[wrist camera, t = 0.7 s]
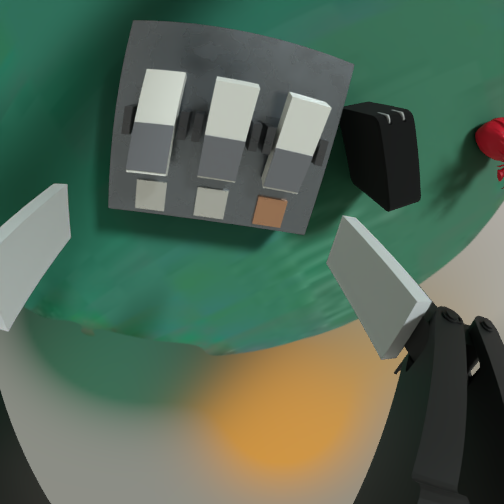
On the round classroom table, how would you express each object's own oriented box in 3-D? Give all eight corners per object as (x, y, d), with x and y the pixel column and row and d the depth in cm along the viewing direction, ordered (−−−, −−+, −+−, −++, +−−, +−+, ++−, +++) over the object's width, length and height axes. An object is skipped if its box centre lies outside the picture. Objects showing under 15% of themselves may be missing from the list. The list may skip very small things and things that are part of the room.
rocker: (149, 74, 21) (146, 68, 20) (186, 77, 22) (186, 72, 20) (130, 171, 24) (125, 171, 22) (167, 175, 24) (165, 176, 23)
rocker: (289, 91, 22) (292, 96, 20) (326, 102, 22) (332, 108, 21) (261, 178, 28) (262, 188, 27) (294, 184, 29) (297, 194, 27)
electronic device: (350, 182, 36) (389, 214, 27) (335, 107, 31) (377, 117, 22) (378, 174, 36) (421, 204, 27) (365, 100, 30) (413, 110, 22)
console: (147, 31, 23) (124, 13, 16) (331, 66, 28) (369, 63, 20) (123, 188, 33) (99, 220, 25) (291, 212, 37) (312, 248, 29)
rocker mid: (217, 76, 20) (216, 80, 19) (258, 84, 21) (260, 89, 20) (198, 168, 27) (197, 177, 25) (234, 173, 27) (234, 183, 26)
